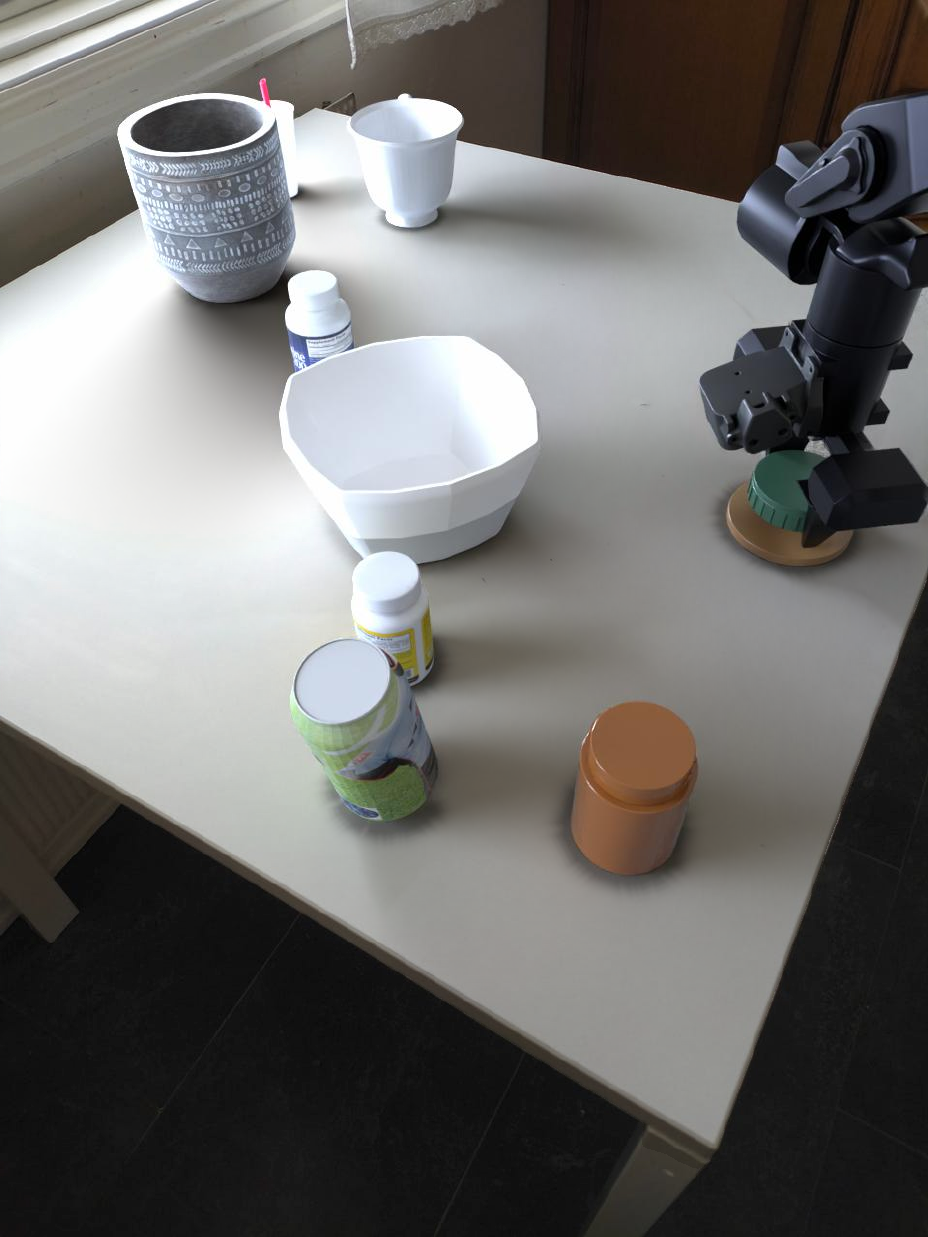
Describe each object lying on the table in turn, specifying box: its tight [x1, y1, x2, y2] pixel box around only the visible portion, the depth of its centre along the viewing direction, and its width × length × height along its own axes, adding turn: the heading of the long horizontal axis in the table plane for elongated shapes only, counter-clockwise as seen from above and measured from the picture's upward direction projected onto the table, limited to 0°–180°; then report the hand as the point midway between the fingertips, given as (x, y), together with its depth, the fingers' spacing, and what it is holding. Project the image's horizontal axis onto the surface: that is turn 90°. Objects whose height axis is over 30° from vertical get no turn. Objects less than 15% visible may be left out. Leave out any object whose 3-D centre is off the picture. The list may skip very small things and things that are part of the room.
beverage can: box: [289, 637, 439, 822], centre depth 49 cm, size 6×7×12 cm
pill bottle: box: [284, 269, 356, 373], centre depth 76 cm, size 5×5×10 cm
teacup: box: [346, 93, 465, 229], centre depth 98 cm, size 12×15×10 cm
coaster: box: [725, 480, 854, 567], centre depth 67 cm, size 9×9×1 cm
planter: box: [117, 93, 297, 304], centre depth 87 cm, size 14×14×15 cm
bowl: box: [279, 335, 543, 565], centre depth 65 cm, size 18×18×9 cm
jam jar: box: [570, 700, 700, 876], centre depth 48 cm, size 6×6×9 cm
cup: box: [259, 78, 299, 198], centre depth 100 cm, size 5×5×12 cm
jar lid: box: [747, 450, 827, 532], centre depth 65 cm, size 7×7×2 cm
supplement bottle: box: [351, 552, 435, 687], centre depth 56 cm, size 5×5×8 cm
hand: (790, 513), depth 66 cm, fingers closed on jar lid, 6 cm apart
